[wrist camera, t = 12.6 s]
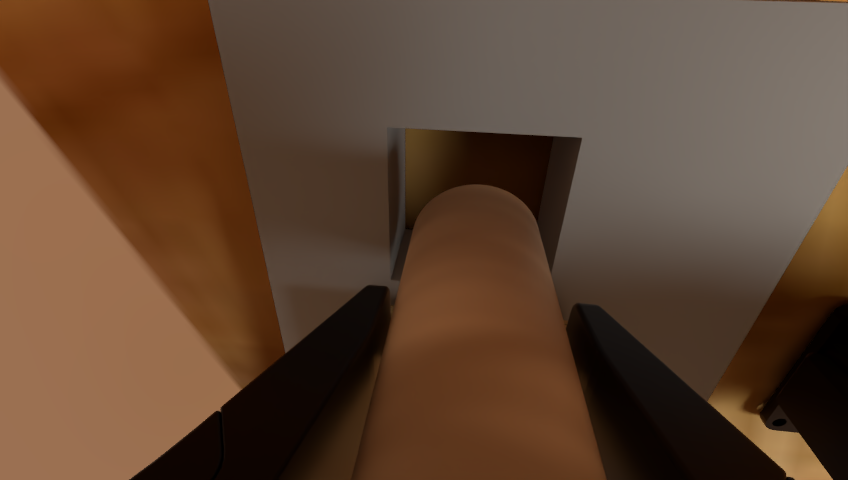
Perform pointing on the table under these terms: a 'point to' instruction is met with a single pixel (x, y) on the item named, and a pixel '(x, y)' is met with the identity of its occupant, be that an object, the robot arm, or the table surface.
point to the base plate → (571, 148)
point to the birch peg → (477, 356)
